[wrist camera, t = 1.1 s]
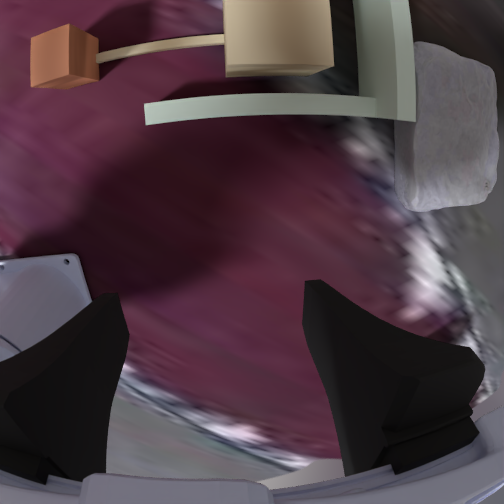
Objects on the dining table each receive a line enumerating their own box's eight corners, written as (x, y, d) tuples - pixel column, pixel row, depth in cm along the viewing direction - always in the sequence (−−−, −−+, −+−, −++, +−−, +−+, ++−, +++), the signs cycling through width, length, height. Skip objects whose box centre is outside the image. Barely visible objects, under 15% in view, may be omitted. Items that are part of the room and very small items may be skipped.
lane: (155, 123, 18) (133, 127, 13) (150, -17, 13) (132, -49, 9) (375, 117, 19) (415, 121, 14) (366, -14, 14) (401, -38, 10)
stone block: (459, 60, 18) (375, 41, 16) (504, 63, 14) (426, 34, 12) (459, 188, 24) (381, 204, 22) (499, 205, 20) (426, 227, 18)
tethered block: (67, 103, 16) (27, 104, 12) (65, 35, 14) (27, 21, 10) (307, 76, 17) (334, 66, 13) (302, 6, 15) (326, -21, 11)
